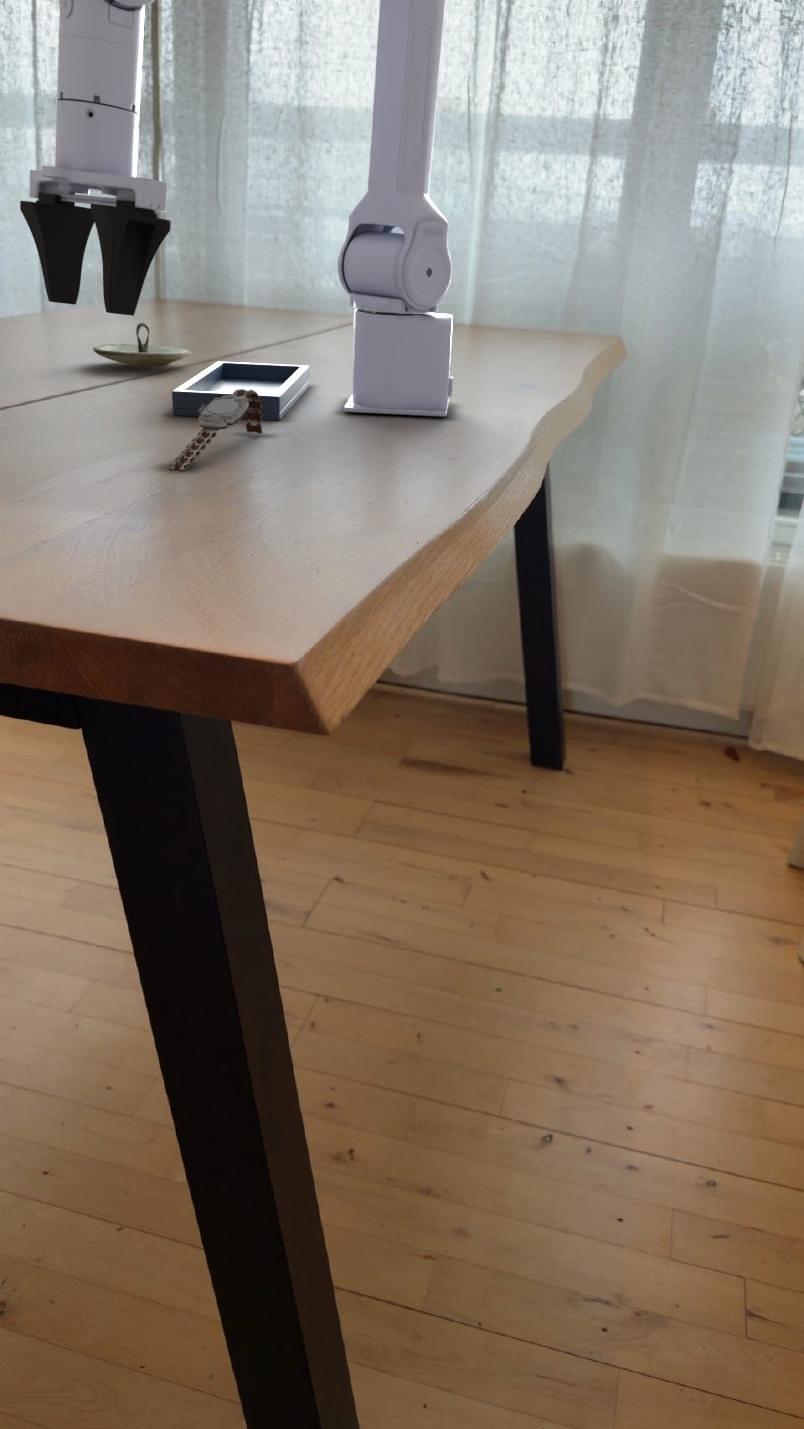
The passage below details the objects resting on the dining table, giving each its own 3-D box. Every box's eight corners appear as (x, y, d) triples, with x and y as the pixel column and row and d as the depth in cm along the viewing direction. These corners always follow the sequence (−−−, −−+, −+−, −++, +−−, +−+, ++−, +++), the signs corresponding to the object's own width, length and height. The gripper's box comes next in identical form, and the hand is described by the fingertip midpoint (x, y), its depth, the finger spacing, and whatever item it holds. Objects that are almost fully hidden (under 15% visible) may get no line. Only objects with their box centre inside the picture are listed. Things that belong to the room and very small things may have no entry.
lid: (182, 393, 124) (198, 348, 123) (92, 357, 120) (107, 311, 119) (175, 380, 133) (190, 339, 132) (91, 346, 130) (105, 303, 128)
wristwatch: (276, 433, 95) (269, 376, 92) (206, 523, 85) (195, 462, 82) (236, 429, 96) (228, 372, 93) (162, 517, 86) (149, 457, 83)
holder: (218, 382, 120) (217, 361, 119) (309, 386, 119) (309, 365, 118) (172, 415, 102) (171, 391, 101) (279, 420, 101) (279, 396, 101)
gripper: (-7, 96, 83) (-9, 293, 88) (110, 96, 75) (100, 314, 79) (78, 117, 88) (71, 302, 93) (196, 119, 80) (182, 323, 84)
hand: (90, 308), depth 86 cm, fingers open, 7 cm apart
